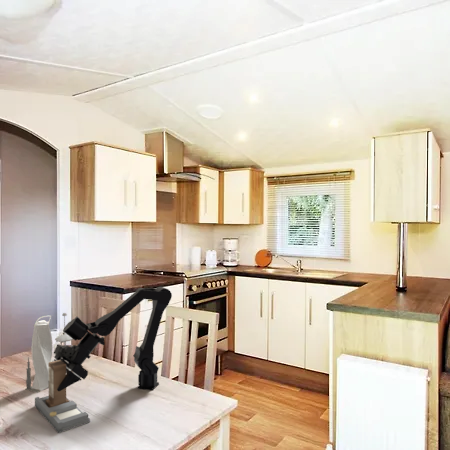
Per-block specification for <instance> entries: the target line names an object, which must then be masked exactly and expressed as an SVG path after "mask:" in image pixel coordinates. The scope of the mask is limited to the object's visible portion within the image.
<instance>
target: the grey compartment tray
mask: <svg viewBox="0 0 450 450" xmlns="http://www.w3.org/2000/svg"><path fill="white" fill-rule="evenodd" d="M48 399H49V395H46V396H43V397H40V396H36V397H34V407H35V408H36V409H37V410H38V412H39V413H40V414H41V415H42V416H43V418H44V419H45V420H46V421H47V422H48V423H49V424H50V425H51V427H52V428H53V429H54V430H55V431H56V432H57V434H59V433H62V432H65V431H69V430H70V429H73V428H76V427H79V426H82V425H85V424H89V423H90V422H91V419H90V418H89V413H87V411H84V412H83V411H82V410H81V409H80V408H79V407H77V403H76V402H75V401H74V400H70V399H69V398H67V399H68V400H69V402H67V403H64V404H60V405H57V406H53V407H50V408H49V407H48V406H47V405H46V400H48Z"/></svg>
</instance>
